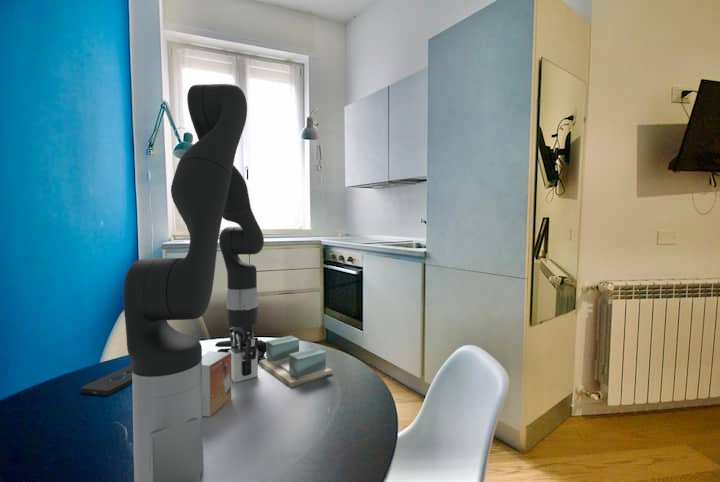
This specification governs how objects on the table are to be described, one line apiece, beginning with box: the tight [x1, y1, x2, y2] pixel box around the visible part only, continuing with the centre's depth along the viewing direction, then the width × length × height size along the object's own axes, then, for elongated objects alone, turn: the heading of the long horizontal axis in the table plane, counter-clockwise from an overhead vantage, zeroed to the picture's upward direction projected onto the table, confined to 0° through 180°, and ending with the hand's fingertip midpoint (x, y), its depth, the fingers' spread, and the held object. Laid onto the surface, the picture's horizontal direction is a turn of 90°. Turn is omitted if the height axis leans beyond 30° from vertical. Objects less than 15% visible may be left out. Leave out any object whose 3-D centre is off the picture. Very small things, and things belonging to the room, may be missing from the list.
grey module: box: [228, 346, 259, 383], centre depth 88 cm, size 4×6×7 cm, turn 130°
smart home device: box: [80, 364, 132, 396], centre depth 89 cm, size 8×2×20 cm
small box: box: [202, 350, 232, 418], centre depth 73 cm, size 8×6×10 cm
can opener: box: [215, 339, 266, 362], centre depth 103 cm, size 18×7×6 cm, turn 70°
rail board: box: [258, 335, 333, 388], centre depth 93 cm, size 18×12×6 cm, turn 40°
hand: (243, 371), depth 88 cm, fingers closed on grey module, 4 cm apart
